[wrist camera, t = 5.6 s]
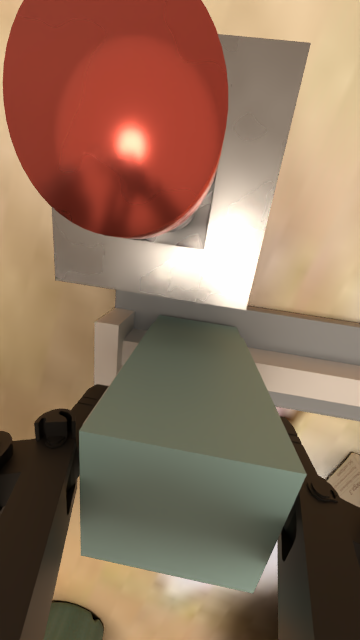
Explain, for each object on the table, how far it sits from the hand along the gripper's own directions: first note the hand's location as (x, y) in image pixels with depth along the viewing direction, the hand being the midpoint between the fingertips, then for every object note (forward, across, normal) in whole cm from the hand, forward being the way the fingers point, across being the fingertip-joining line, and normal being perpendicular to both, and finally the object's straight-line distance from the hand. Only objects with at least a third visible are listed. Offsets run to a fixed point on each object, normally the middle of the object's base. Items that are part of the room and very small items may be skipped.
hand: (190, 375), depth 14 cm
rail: (+5, +6, 0) cm, 8 cm away
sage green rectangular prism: (+4, 0, 0) cm, 4 cm away
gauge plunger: (0, -3, +10) cm, 10 cm away
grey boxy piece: (+5, -3, +10) cm, 12 cm away
